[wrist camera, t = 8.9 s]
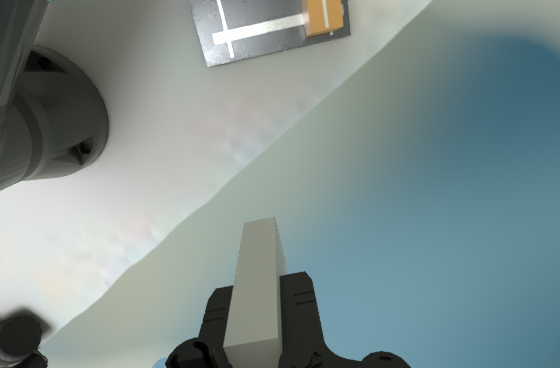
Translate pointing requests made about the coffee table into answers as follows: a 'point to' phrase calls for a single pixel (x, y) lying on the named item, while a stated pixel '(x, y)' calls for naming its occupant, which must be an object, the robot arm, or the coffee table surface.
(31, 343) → the camera
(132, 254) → the coffee table surface
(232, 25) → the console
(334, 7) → the fader orange
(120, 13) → the coffee table surface
